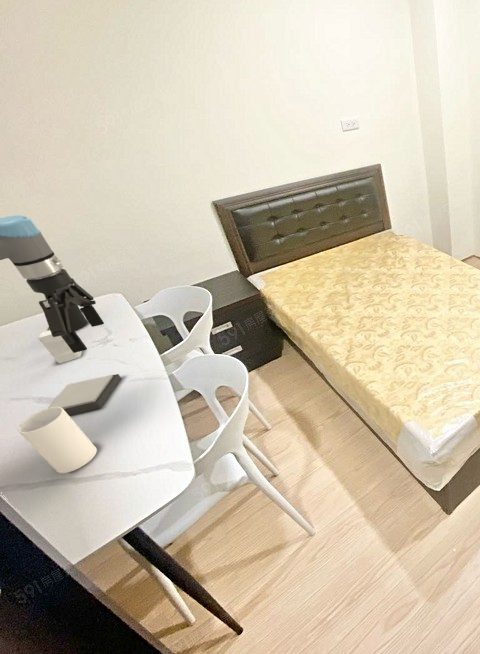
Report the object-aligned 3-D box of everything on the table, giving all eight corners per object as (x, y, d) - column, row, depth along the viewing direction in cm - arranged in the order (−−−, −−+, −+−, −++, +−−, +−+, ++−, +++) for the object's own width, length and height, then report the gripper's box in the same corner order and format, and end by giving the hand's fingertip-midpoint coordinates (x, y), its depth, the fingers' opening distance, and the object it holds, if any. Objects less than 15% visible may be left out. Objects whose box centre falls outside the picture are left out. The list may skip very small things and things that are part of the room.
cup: (55, 479, 103) (15, 438, 95) (57, 459, 108) (19, 419, 100) (97, 459, 107) (62, 419, 99) (97, 441, 113) (63, 401, 105)
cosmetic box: (82, 351, 149) (63, 325, 143) (80, 357, 146) (61, 331, 140) (60, 358, 146) (40, 332, 140) (58, 364, 143) (37, 338, 137)
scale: (44, 422, 120) (38, 414, 118) (71, 390, 131) (65, 383, 130) (101, 409, 123) (95, 401, 122) (122, 378, 135) (117, 371, 133)
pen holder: (95, 320, 167) (81, 300, 162) (75, 333, 159) (61, 313, 154) (72, 321, 167) (58, 301, 162) (51, 335, 159) (36, 314, 154)
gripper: (41, 291, 96) (90, 358, 107) (81, 252, 116) (119, 312, 126) (-1, 300, 93) (53, 367, 104) (48, 258, 113) (89, 318, 123)
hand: (89, 337), depth 115 cm, fingers open, 13 cm apart
